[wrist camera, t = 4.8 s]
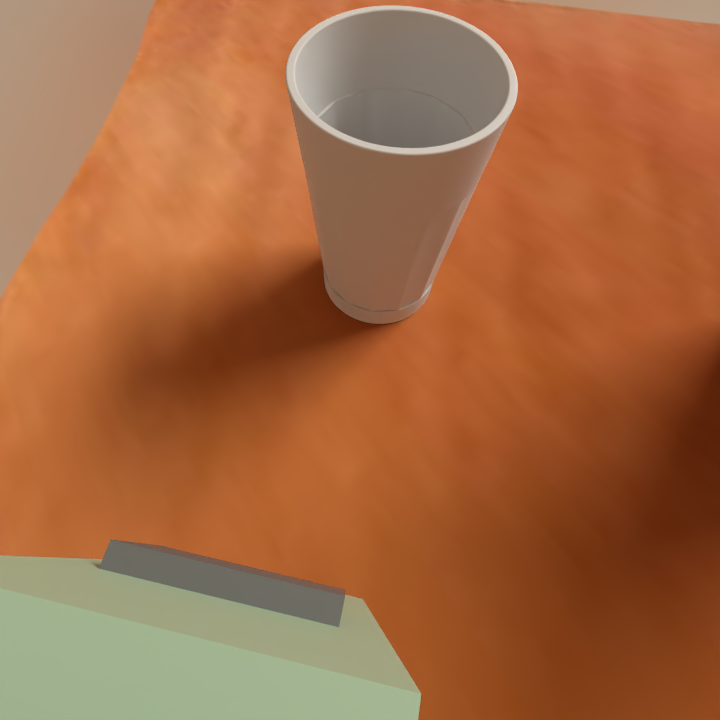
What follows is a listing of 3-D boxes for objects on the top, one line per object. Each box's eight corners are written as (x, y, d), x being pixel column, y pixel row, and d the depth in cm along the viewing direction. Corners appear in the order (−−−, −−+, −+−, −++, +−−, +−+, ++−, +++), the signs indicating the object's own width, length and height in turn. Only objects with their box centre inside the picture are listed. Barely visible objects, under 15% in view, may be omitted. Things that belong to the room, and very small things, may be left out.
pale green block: (333, 754, 13) (276, 1836, 2) (166, 710, 13) (-720, 1427, 2) (364, 585, 15) (428, 635, 4) (218, 550, 15) (-121, 502, 4)
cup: (462, 323, 25) (554, 137, 14) (323, 348, 24) (306, 169, 13) (424, 216, 28) (475, -3, 17) (299, 234, 27) (271, 14, 16)
